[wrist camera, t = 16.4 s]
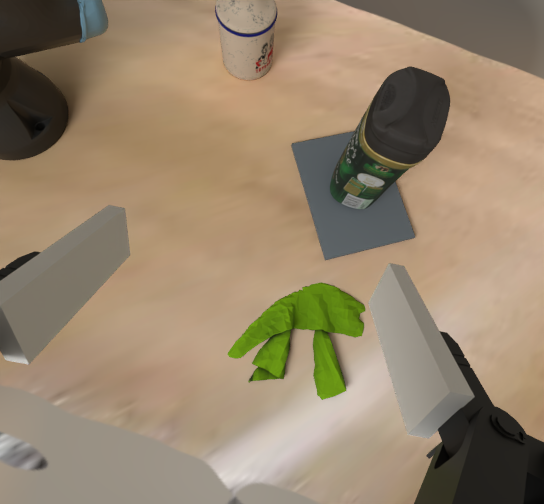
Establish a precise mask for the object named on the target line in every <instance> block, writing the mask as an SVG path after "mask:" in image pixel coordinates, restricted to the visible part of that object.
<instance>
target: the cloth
mask: <svg viewBox="0 0 544 504" xmlns="http://www.w3.org/2000/svg"><path fill="white" fill-rule="evenodd" d="M302 288H303V290H299V291H298V292H294V293H292V294H289V295H288V296H285V297H284V298H282V299H280V300H278V301H276V302H275V303H274V305H272V306H270V308H269V309H267V310H266V311H265V312H263V314H262V315H261V317H259V318H258V319H257V320H256V321H254V323H252V324H251V325H250V326H249V327H248V329H247V330H246V331H245V333H244V334H243V335H242V337H241V338H239V339H238V340H237V341H236V342H235V344H234V345H233V347H232V348H231V349H230V351H229V352H228V356H229V357H232V358H241V357H242V356H243V355H245V354H246V353H247V352H248V351H249V350H251V349H252V348H254V347H255V346H257V345H258V344H259V343H261V342H263V341H265V340H266V339H268V338H269V340H268V341H267V342H266V343H265V345H264V346H263V347H262V348H261V349H260V350H259V352H258V353H257V355H256V357H255V359H254V361H253V363H252V364H254V365H256V366H258V368H257V369H256V370H255V371H254V373H253V375H252V377H251V378H250V380H249V382H250V381H257V380H267V379H279V378H280V379H284V374H285V362H286V360H287V357H288V353H289V350H290V333H291V329H293V328H295V329H302V330H304V329H309V330H315V334H314V340H313V350H314V362H315V369H314V379H315V383H316V388H317V395H318V396H320V398H321V399H322V400H323V399H326V398H330V397H333V396H336V395H338V394H340V393H342V392H345V391H346V386H345V382H344V378H343V375H342V372H341V369H340V366H339V363H338V360H337V357H336V354H335V351H334V348H333V345H332V343H331V340H330V338H329V335H328V333H327V332H332V333H341V334H345V335H348V336H353V337H358V336H362V333H363V329H364V323H363V322H362V321H361V320H360V319H359V317H360V313H362V312H364V311H365V307H364V305H363V304H361V303H360V302H358V301H356V300H355V299H354V298H353V297H352V296H350V295H348V294H347V293H345V292H343V291H341V290H340V289H339V288H337V287H334V286H331V285H328V284H325V283H317V284H312V285H310V286H309V287H307V286H305V287H302Z"/></svg>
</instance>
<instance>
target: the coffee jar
mask: <svg viewBox="0 0 544 504" xmlns="http://www.w3.org/2000/svg"><path fill="white" fill-rule="evenodd" d="M449 107H450V96H449V92H448V89H447V86H446V84H445V80H444V79H442V78H440V77H438V76H436V75H434V74H432V73H429V72H427V71H424V70H421V69H418V68H414V67H407V68H404V69H401V70H398V71H396V72H394V73H392V74H391V75H389V76H388V77H387V78H386V80H385V81H384V82H383V84H382V85H381V87H380V89H379V90H378V92H377V93H376V95H375V96H374V98H373V100H372V102H371V104H370V105H369V107H368V109H367V111H366V112H365V114H364V116H363V117H362V119H361V121H360V123H359V125H358V126H357V128H356V130H355V131H354V133H353V135H352V137H351V139H350V141H349V143H348V144H347V146H346V148H345V150H344V151H343V153H342V155H341V157H340V159H339V161H338V162H337V164H336V167H335V169H334V172H333V175H332V178H331V183H330V192H331V195H332V197H333V198H334V199H335V200H336V201H338V202H339V203H341V204H343V205H345V206H347V207H350V208H354V209H366V208H368V207H369V206H371V205H372V204H373V203H374V202H375V201H376V200H377V199H378V198H379V197H380V196H381V195H382V194H383V193H384V192H385V191H386V190H387V189H388V188H389V187H390V186H391V185H392V184H393V183H394V182H395V181H396V180H397V179H398V178H399V177H400V176H401V175H402V174H403V173H405V172H406V171H407V170H408V169H409V168H411V167H413V166H415V165H417V164H418V163H420V162H421V161H422V160H424V159H425V158H426V157H427V155H428V154H429V153H430V152H431V151H432V150H433V149H434V148H435V147H436V145H437V144H438V143H439V141H440V140H441V136H442V133H443V131H444V127H445V124H446V121H447V117H448V112H449Z"/></svg>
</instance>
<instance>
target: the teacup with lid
mask: <svg viewBox="0 0 544 504" xmlns="http://www.w3.org/2000/svg"><path fill="white" fill-rule="evenodd" d="M215 12H216V17H217V19H218V23H219V31H220V40H221V48H222V56H223V62H224V65H225V67H226V69H227V70H228V71H229V72H230V73H231V74H232V75H233V76H235V77H237V78H240V79H243V80H254V79H258V78H260V77H262V76H263V75H265V74H266V73H267V72H268V70H269V69H270V67H271V64H272V55H273V41H274V28H275V21H276V18H277V7H276V3H275V1H274V0H217V2H216V6H215Z"/></svg>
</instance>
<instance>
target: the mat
mask: <svg viewBox="0 0 544 504" xmlns="http://www.w3.org/2000/svg"><path fill="white" fill-rule="evenodd" d="M353 133H354V131H353V132H348V133H343V134H338V135H333V136H328V137H323V138H318V139H313V140H308V141H303V142H298V143H293V144H292V145H291V146H292V150H293V153H294V156H295V160H296V163H297V167H298V170H299V173H300V177H301V180H302V183H303V187H304V190H305V194H306V197H307V200H308V204H309V207H310V211H311V214H312V217H313V221H314V224H315V228H316V231H317V234H318V238H319V241H320V245H321V248H322V251H323V255H324V258H325V260H328V259H332V258H336V257H340V256H344V255H348V254H352V253H356V252H360V251H364V250H368V249H372V248H376V247H380V246H384V245H388V244H392V243H396V242H400V241H404V240H408V239H412V238H415V235H414V232H413V229H412V226H411V224H410V221H409V218H408V215H407V213H406V210H405V207H404V204H403V201H402V199H401V196H400V193H399V190H398V187H397V185H396V182H394V183H393V184H392V185H391V186H390V187H389V188H388V189H387V190H386V191H385V192H384V193H383V194H382V195H381V196H380V197H379V198H378V199H377V200H376V201H375V202H374V203H373V204H372V205H371V206H369V207H368V208H366V209H354V208H350V207H347V206H345V205H343V204H341V203H339V202H338V201H336V200H335V199H334V198H333V197H332V195H331V192H330V183H331V178H332V175H333V172H334V169H335V167H336V164H337V162H338V161H339V159H340V157H341V155H342V153H343V151H344V150H345V148H346V146H347V144H348V143H349V141H350V139H351V137H352V135H353Z"/></svg>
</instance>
